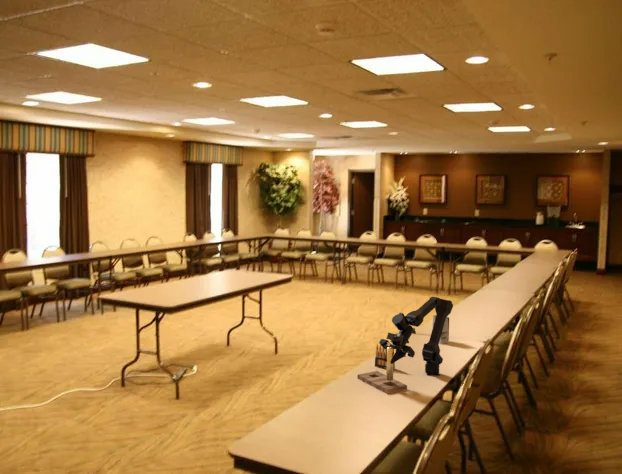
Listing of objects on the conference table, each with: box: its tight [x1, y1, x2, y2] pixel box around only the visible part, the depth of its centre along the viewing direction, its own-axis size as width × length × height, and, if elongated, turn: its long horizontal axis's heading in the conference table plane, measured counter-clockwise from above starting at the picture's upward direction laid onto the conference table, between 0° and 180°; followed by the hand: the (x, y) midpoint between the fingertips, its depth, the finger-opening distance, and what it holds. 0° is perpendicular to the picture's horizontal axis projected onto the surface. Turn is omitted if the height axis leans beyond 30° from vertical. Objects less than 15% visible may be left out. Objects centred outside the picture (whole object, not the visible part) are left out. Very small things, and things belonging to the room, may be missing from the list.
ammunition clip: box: [374, 343, 396, 370], centre depth 298 cm, size 11×2×12 cm, turn 62°
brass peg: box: [385, 347, 395, 381], centre depth 267 cm, size 3×3×16 cm
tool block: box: [356, 370, 408, 395], centre depth 273 cm, size 24×12×2 cm, turn 30°
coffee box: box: [432, 314, 450, 345], centre depth 349 cm, size 9×6×16 cm
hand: (388, 362), depth 266 cm, fingers closed on brass peg, 3 cm apart
